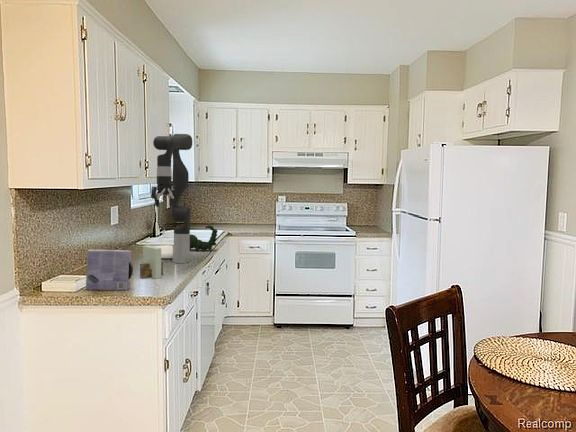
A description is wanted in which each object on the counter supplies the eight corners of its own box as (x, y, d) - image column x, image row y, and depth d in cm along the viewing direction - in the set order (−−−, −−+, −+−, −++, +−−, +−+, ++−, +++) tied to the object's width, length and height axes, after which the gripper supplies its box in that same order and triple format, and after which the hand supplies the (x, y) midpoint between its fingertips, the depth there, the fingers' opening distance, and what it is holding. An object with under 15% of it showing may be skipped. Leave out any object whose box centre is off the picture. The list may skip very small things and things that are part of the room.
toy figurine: (215, 252, 319) (179, 248, 317) (218, 225, 318) (182, 221, 315) (214, 254, 310) (177, 250, 308) (217, 227, 308) (180, 222, 306)
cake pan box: (133, 287, 208) (133, 249, 206) (131, 290, 203) (131, 251, 201) (88, 287, 205) (88, 248, 203) (85, 290, 200) (85, 250, 198)
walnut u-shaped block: (142, 278, 226) (142, 264, 225) (140, 277, 227) (140, 264, 227) (163, 275, 235) (163, 261, 235) (160, 274, 237) (160, 261, 236)
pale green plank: (142, 275, 234) (143, 246, 232) (147, 274, 236) (148, 245, 235) (156, 278, 227) (156, 248, 225) (161, 277, 229) (161, 248, 228)
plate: (198, 249, 293) (166, 254, 271) (197, 258, 294) (165, 265, 272) (168, 240, 308) (135, 244, 286) (168, 249, 309) (135, 254, 287)
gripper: (171, 174, 244) (171, 205, 246) (148, 174, 233) (148, 206, 235) (179, 175, 240) (179, 206, 242) (156, 175, 229) (156, 207, 231)
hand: (164, 206), depth 238 cm, fingers open, 8 cm apart
